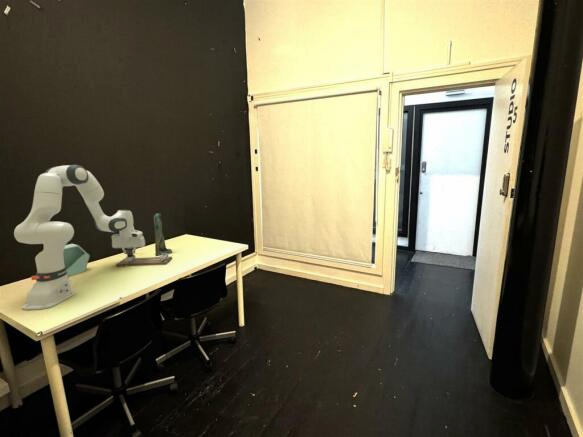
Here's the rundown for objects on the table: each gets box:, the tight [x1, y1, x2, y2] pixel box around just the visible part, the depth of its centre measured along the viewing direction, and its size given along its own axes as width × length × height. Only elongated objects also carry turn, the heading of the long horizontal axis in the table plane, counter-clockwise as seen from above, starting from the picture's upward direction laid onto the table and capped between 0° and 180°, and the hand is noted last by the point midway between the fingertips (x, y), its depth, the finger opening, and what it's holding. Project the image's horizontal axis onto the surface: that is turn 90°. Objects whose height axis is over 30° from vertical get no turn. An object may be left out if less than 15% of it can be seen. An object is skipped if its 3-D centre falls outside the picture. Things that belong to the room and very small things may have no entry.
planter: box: [63, 243, 90, 277], centre depth 186 cm, size 17×8×21 cm
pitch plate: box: [115, 253, 173, 268], centre depth 204 cm, size 12×32×6 cm, turn 94°
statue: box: [153, 213, 173, 257], centre depth 221 cm, size 7×11×30 cm, turn 124°
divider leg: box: [125, 248, 137, 263], centre depth 202 cm, size 8×4×8 cm, turn 4°
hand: (130, 253), depth 203 cm, fingers closed on divider leg, 4 cm apart
